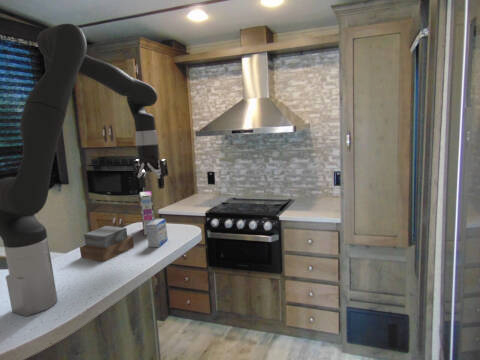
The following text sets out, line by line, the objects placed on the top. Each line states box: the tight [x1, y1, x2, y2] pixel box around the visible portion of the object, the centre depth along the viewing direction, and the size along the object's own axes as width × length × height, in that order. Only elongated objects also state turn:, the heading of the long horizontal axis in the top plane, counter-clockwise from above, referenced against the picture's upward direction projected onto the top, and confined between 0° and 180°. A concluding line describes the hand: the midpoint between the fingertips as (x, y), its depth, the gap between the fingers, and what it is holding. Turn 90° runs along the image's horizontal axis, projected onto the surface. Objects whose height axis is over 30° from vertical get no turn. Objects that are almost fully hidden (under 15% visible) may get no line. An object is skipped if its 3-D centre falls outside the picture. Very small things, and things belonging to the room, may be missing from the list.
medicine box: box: [146, 218, 169, 248], centre depth 128 cm, size 8×4×9 cm, turn 168°
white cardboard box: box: [139, 190, 155, 237], centre depth 143 cm, size 11×5×16 cm, turn 17°
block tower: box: [79, 225, 135, 262], centre depth 122 cm, size 14×11×8 cm
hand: (152, 187), depth 125 cm, fingers open, 8 cm apart
